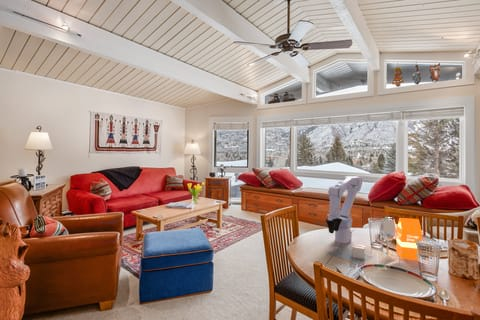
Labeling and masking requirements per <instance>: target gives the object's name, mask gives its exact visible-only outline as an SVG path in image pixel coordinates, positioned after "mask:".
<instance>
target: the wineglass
mask: <svg viewBox="0 0 480 320" xmlns="http://www.w3.org/2000/svg"><path fill="white" fill-rule="evenodd" d="M378 229H379V233H378V234H379V235H380V236H381V237H382V239H384V240H386V252H383V254H384V255H387V256H389V257H393V258H397V257H396V255H394V254H392V253H389V242H390V241H392V240H394V239H395V238H397V224H396V221H395V218H393V217H390V216H383V217H381V220H380V225H379V228H378Z"/></svg>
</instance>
